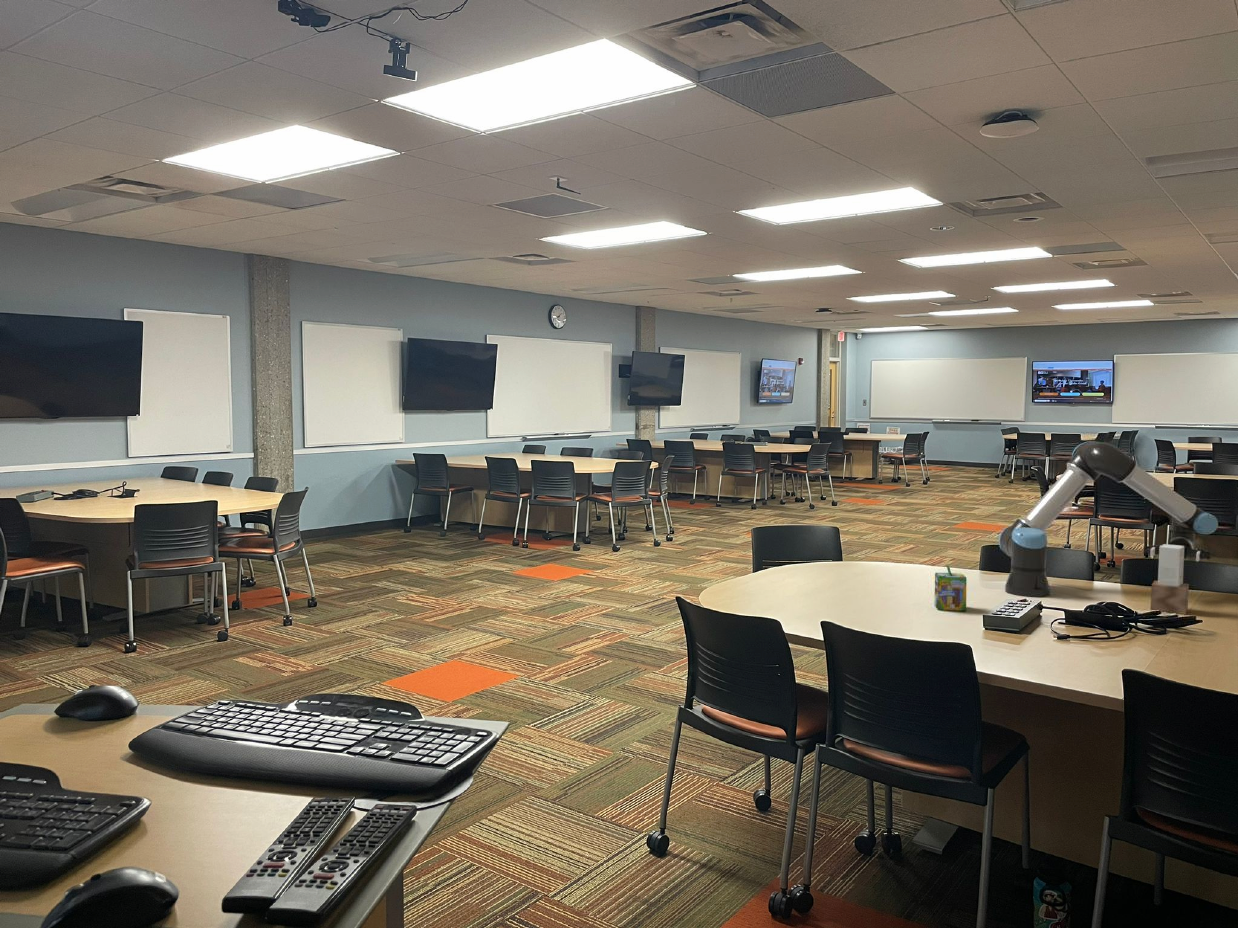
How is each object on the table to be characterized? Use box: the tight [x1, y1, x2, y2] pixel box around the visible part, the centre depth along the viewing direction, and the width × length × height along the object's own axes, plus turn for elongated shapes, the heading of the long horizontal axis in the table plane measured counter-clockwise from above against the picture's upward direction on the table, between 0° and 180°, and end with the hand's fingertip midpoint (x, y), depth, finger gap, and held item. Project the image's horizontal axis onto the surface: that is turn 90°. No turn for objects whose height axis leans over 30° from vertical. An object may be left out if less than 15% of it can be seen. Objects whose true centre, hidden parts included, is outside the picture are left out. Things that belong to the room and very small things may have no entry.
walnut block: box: [1149, 580, 1190, 616], centre depth 307 cm, size 10×10×9 cm
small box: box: [1157, 543, 1185, 587], centre depth 306 cm, size 8×6×13 cm
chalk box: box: [933, 563, 967, 612], centre depth 306 cm, size 9×9×15 cm
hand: (1174, 555), depth 314 cm, fingers open, 13 cm apart
